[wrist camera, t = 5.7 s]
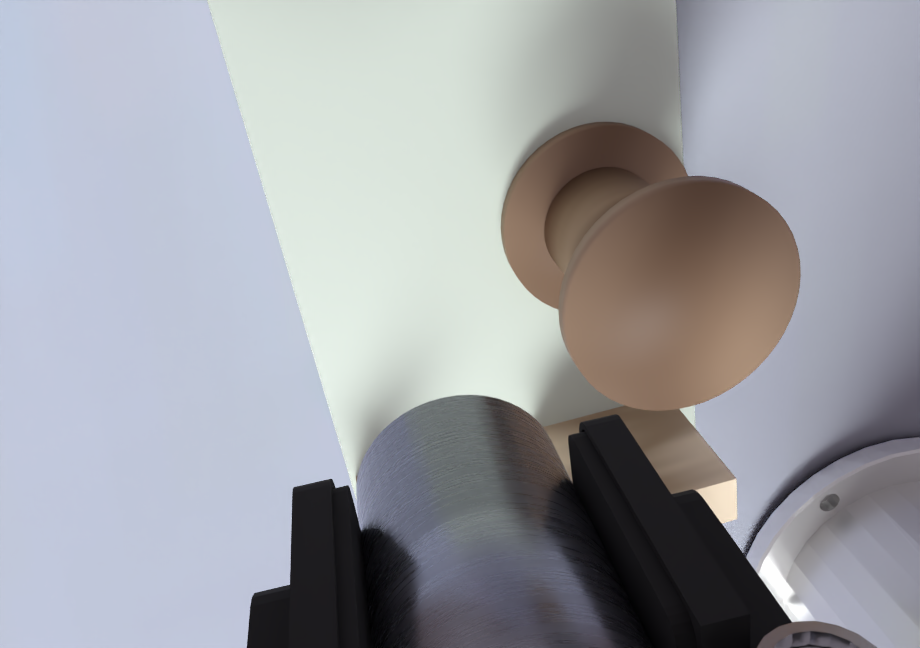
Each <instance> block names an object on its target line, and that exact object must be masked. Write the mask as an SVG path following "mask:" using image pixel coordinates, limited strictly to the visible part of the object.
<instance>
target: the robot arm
mask: <svg viewBox="0 0 920 648" xmlns="http://www.w3.org/2000/svg"><path fill="white" fill-rule="evenodd" d="M568 446H569V454H570V463H571V472H572V481H573V485H574V487H575V489H576V491H577V493H578V495H579V497H580V499H581V502H582V504H583V506H584V508H585V510H586V512H587V514H588V516H589V518H590V520H591V522H592V524H593V526H594V528H595V530H596V532H597V534H598V536H599V538H600V540H601V542H602V544H603V546H604V548H605V550H606V552H607V554H608V556H609V558H610V560H611V562H612V564H613V566H614V568H615V571H616V573H617V575H618V577H619V579H620V581H621V583H622V585H623V587H624V589H625V591H626V593H627V595H628V597H629V599H630V601H631V603H632V605H633V607H634V609H635V611H636V613H637V615H638V617H639V619H640V621H641V623H642V625H643V627H644V629H645V631H646V633H647V635H648V638H649V640H650V642H651V644H652V646H653V648H920V437H915V438H906V439H897V440H891V441H887V442H884V443H880V444H877V445H873V446H869V447H866V448H863V449H861V450H859V451H857V452H854V453H852V454H850V455H847V456H845V457H843V458H841V459H838V460H837V461H835V462H834V463H832V464H830V465H829V466H827V467H825V468H824V469H822V470H820V471H819V472H817V473H815V474H814V475H813V476H811V477H810V478H809V479H808V480H806V481H805V482H804V483H803V484H802V485H800V486H799V487H798V488H797V489H795V490H794V491H793V492H792V493H791V494H790V495H789V496H788V497H787V498H786V499H785V500H784V501H783V502H782V503H781V504H780V505H779V506H778V507H777V508H776V509H775V511H774V512H773V513H772V514H771V516H770V517H769V518H768V520H767V521H766V523H765V524H764V525H763V527H762V528H761V530H760V531H759V533H758V534H757V536H756V538H755V540H754V542H753V544H752V546H751V548H750V550H749V552H748V554H747V556H746V557H745V556H744V554H743V553H742V551H741V550H740V549H739V547H738V546H737V544H736V543H735V542H734V540H733V539H732V537H731V536H730V535H729V533H728V532H727V530H726V529H725V528H724V526H723V525H722V523H721V522H720V521H719V519H718V518H717V516H716V515H715V514H714V512H713V511H712V509H711V508H710V507H709V505H708V504H707V502H706V501H705V500H704V498H703V497H702V496H701V495H700V494H699V493H698V492H697V491H695V490H693V489H691V490H687V491H683V492H679V493H675V494H671V493H670V491H669V490H668V488H667V487H666V485H665V484H664V482H663V481H662V479H661V478H660V476H659V475H658V473H657V472H656V470H655V469H654V467H653V466H652V464H651V463H650V461H649V460H648V458H647V457H646V455H645V454H644V452H643V451H642V449H641V448H640V446H639V445H638V443H637V441H636V440H635V438H634V437H633V435H632V434H631V432H630V431H629V429H628V428H627V426H626V425H625V423H624V422H623V420H622V419H621V418H620V416H619V415H617V414H614V415H610V416H605V417H601V418H597V419H592V420H588V421H583V422H581V423H580V424H579V433H575V434H571V435H569V436H568ZM247 648H372V645H371V634H370V623H369V612H368V601H367V590H366V579H365V568H364V558H363V547H362V536H361V529H360V525H359V522H358V518H357V514H356V510H355V506H354V503H353V499H352V495H351V491H350V488H349V486H343V487H339V488H335V485H334V483H333V480H332V479H328V480H324V481H319V482H315V483H311V484H306V485H302V486H297V487H294V488H293V496H292V534H291V572H290V585H287V586H283V587H279V588H274V589H270V590H266V591H262V592H258V593H254V595H253V597H252V601H251V607H250V618H249V630H248V642H247Z"/></svg>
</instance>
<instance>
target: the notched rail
mask: <svg viewBox="0 0 920 648" xmlns="http://www.w3.org/2000/svg"><path fill="white" fill-rule="evenodd" d="M614 414H617V415H619V416H620V418H621V419H622V420H623V422H624V423H625V425H626V426H627V428H628V429H629V431H630V432H631V434H632V435H633V437H634V438H635V440H636V441H637V443H638V445H639V446H640V448H641V449H642V451H643V452H644V454H645V455H646V457H647V458H648V460H649V461H650V463H651V464H652V466H653V467H654V469H655V470H656V472H657V473H658V475H659V476H660V478H661V479H662V481H663V482H664V484H665V485H666V487H667V488H668V490H669V491H670V493H671V494H675V493H679V492H683V491H687V490H691V489H693V490H695V491H697V492H698V493H699V494H700V495H701V496H702V497H703V498H704V500H705V501H706V502H707V504H708V505H709V507H710V508H711V509H712V511H713V512H714V514H715V515H716V516H717V518H718V519H719V521H720V522H721V523H725V522H729V521H732V520H736V519H737V484H736V478H735V476H734V475H733V474H732V473H731V472H730V470H729V469H728V468H727V467H726V465H725V464H724V463H723V462H722V461H721V459H720V458H719V457H718V456H717V454H716V453H715V452H714V451H713V450H712V448H711V447H710V446H709V445H708V444H707V442H706V441H705V440H704V439H703V437H702V436H701V435H700V434H699V433H698V431H697V430H696V429H695V428H694V426H693V425H692V424H691V423H690V422H689V420H688V419H687V418H686V417H685V415H684V414H683V413H682V412H681V411H680V409H676V410H665V411H652V410H642V409H636V408H632V407H628V406H621V407H617V408H613V409H610V410H606V411H602V412H598V413H594V414H591V415H587V416H583V417H579V418H575V419H572V420H568V421H564V422H560V423H556V424H553V425H549V426H545V427H543V428H544V429H545V430H546V432H547V434H548V435H549V437H550V439H551V441H552V443H553V445H554V447H555V449H556V451H557V453H558V455H559V457H560V459H561V461H562V463H563V465H564V467H565V469H566V471H567V473H568V475H569V477H570V479H571V481H572V472H571V463H570V454H569V446H568V436H569V435H571V434H575V433H579V424H580V423H581V422H583V421H588V420H592V419H597V418H601V417H605V416H610V415H614ZM357 477H358V476H356V483H357ZM572 483H573V481H572Z"/></svg>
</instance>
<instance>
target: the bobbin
mask: <svg viewBox="0 0 920 648" xmlns="http://www.w3.org/2000/svg"><path fill="white" fill-rule="evenodd" d="M501 238H502V244H503V248H504V252H505V255H506V257H507V260H508V263H509V264H510V266H511V268H512V270H513V271H514V273H515V275H516V276H517V278H518V279H519V281H520V282H521V283H522V284H523V286H524V287H525V288H526V289H527V290H528V291H529V292H530V293H531V294H532V295H533V296H534V297H536V298H537V299H539V300H540V301H541V302H543V303H545V304H547V305H549V306H551V307H553V308H555V309H558V312H559V325H560V330H561V335H562V338H563V341H564V344H565V346H566V349H567V351H568V353H569V355H570V356H571V358H572V360H573V362H574V363H575V365H576V366H577V368H578V369H579V371H580V372H581V373H582V375H583V376H584V377H585V378H586V380H587V381H588V382H589V383H590V384H591V385H592V386H593V387H594V388H595V389H596V390H597V391H598V392H600V393H601V394H603V395H604V396H606V397H607V398H609V399H611V400H613V401H615V402H617V403H620V404H622V405H625V406H628V407H632V408H636V409H642V410H652V411H665V410H676V409H681V408H686V407H690V406H693V405H697V404H700V403H703V402H705V401H708V400H710V399H712V398H714V397H717V396H719V395H721V394H722V393H724V392H726V391H728V390H729V389H731V388H733V387H734V386H735V385H737V384H738V383H740V382H741V381H742V380H744V379H745V378H746V377H747V376H749V375H750V374H751V373H752V372H753V371H754V370H755V369H757V367H758V366H759V365H760V364H761V363H762V362H763V361H764V360H765V359H766V358H767V357H768V355H769V354H770V353H771V352H772V350H773V349H774V348H775V346H776V345H777V343H778V342H779V340H780V339H781V337H782V335H783V334H784V332H785V330H786V328H787V326H788V324H789V322H790V319H791V317H792V314H793V311H794V308H795V306H796V302H797V297H798V293H799V286H800V259H799V254H798V248H797V245H796V242H795V239H794V236H793V234H792V232H791V230H790V228H789V226H788V225H787V223H786V221H785V220H784V219H783V217H782V216H781V215H780V214H779V212H778V211H777V210H776V209H775V208H773V207H772V206H771V205H770V204H769V203H768V202H767V201H765V200H764V199H762V198H760V197H759V196H757V195H756V194H754V193H752V192H751V191H749V190H747V189H745V188H744V187H742V186H739V185H737V184H735V183H732V182H730V181H727V180H723V179H719V178H715V177H706V176H688V175H687V173H686V170H685V168H684V166H683V165H682V163H681V161H680V160H679V158H678V157H677V156H676V155H675V153H674V152H673V151H672V150H671V149H670V148H669V147H668V146H667V145H666V144H664V143H663V142H662V141H660V140H659V139H657V138H656V137H654V136H653V135H651V134H649V133H647V132H646V131H643V130H641V129H639V128H637V127H634V126H631V125H627V124H624V123H617V122H594V123H588V124H583V125H580V126H576V127H573V128H570V129H568V130H566V131H564V132H561V133H559V134H558V135H556V136H554V137H553V138H551V139H549V140H548V141H547V142H545V143H544V144H543V145H541V146H540V147H539V148H538V149H537V150H536V151H535V152H534V153H533V154H532V155H531V156H530V157H529V158H528V159H527V160H526V161H525V162H524V164H523V165H522V166H521V168H520V169H519V170H518V172H517V174H516V175H515V177H514V179H513V180H512V183H511V185H510V187H509V189H508V191H507V194H506V198H505V201H504V204H503V210H502V215H501Z"/></svg>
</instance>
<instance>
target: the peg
mask: <svg viewBox="0 0 920 648" xmlns="http://www.w3.org/2000/svg"><path fill="white" fill-rule="evenodd" d="M356 497H357V508H358V519H359V525H360V529H361V536H362V547H363V558H364V568H365V579H366V590H367V601H368V612H369V623H370V634H371V645H372V648H653V646H652V644H651V642H650V640H649V638H648V635H647V633H646V631H645V629H644V627H643V625H642V623H641V621H640V619H639V617H638V615H637V613H636V611H635V609H634V607H633V605H632V603H631V601H630V599H629V597H628V595H627V593H626V591H625V589H624V587H623V585H622V583H621V581H620V579H619V577H618V575H617V573H616V571H615V568H614V566H613V564H612V562H611V560H610V558H609V556H608V554H607V552H606V550H605V548H604V546H603V544H602V542H601V540H600V538H599V536H598V534H597V532H596V530H595V528H594V526H593V524H592V522H591V520H590V518H589V516H588V514H587V512H586V510H585V508H584V506H583V504H582V502H581V499H580V497H579V495H578V493H577V491H576V489H575V487H574V485H573V483H572V481H571V479H570V477H569V475H568V473H567V471H566V469H565V467H564V465H563V463H562V461H561V459H560V457H559V455H558V453H557V451H556V449H555V447H554V445H553V443H552V441H551V439H550V437H549V435H548V434H547V432H546V430H545V429H544V428H543V427H542V425H541V424H540V423H539V422H538V421H537V420H536V419H535V418H534V417H533V416H532V415H530V414H529V413H528V412H526V411H525V410H523V409H522V408H520V407H518V406H516V405H514V404H512V403H510V402H507V401H504V400H501V399H498V398H493V397H488V396H481V395H456V396H450V397H444V398H440V399H436V400H432V401H429V402H426V403H424V404H422V405H419V406H417V407H415V408H413V409H411V410H409V411H407V412H405V413H404V414H402V415H401V416H399V417H398V418H397V419H395V420H394V421H392V422H391V423H390V424H389V425H388V426H387V427H386V428H385V429H383V430H382V431H381V433H380V434H379V435H378V436H377V437H376V438H375V440H374V441H373V442H372V444H371V445H370V447H369V449H368V450H367V452H366V454H365V456H364V458H363V460H362V462H361V466H360V469H359V472H358V477H357V484H356Z"/></svg>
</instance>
